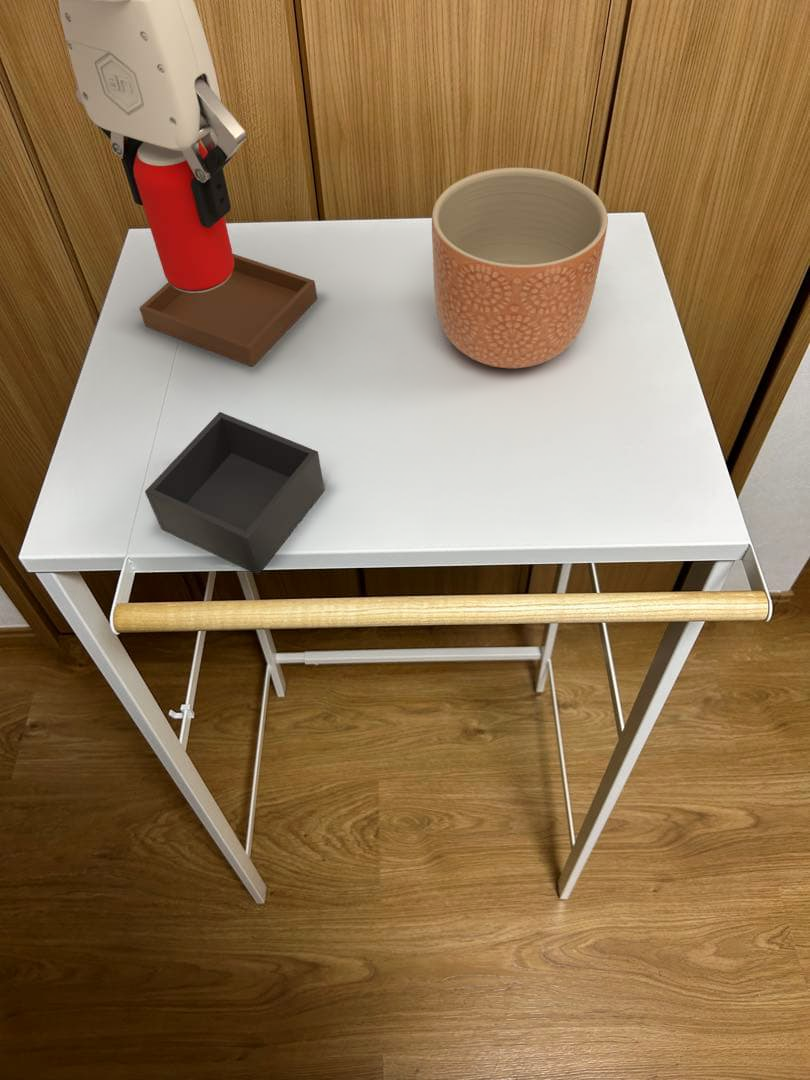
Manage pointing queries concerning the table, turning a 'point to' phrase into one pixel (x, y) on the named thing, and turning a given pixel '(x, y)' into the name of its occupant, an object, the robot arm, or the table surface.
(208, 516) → the bin
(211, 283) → the beverage can
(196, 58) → the robot arm
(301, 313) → the tray
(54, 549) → the table surface
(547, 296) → the planter
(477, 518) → the table surface
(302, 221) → the table surface
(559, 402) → the table surface
